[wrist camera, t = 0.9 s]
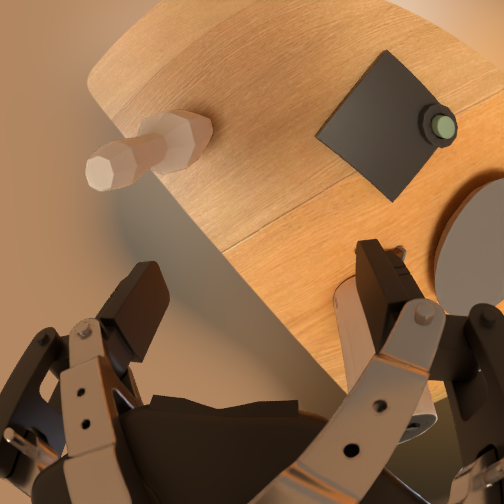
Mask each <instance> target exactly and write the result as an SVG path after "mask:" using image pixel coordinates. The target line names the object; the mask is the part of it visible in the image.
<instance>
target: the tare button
mask: <svg viewBox="0 0 504 504" xmlns="http://www.w3.org/2000/svg"><path fill="white" fill-rule="evenodd" d="M431 127H432V130H433V132H434V133H435V134H436V135H437V136H439V137H442V138H445V139H449V138H451V137H452V136H453V135H454V132H455V125H454V122H453V121H452V119H451V118H449V117H448V116H443V115H436V116H434V117H433V119H432V122H431Z"/></svg>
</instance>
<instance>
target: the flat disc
mask: <svg viewBox="0 0 504 504" xmlns="http://www.w3.org/2000/svg"><path fill="white" fill-rule="evenodd" d="M434 256H435V258H434V274H435V291H436V296H437V299H438V302H439V304H440V305H441V307H442V308H443V309H444V310H445V311H446V312H447V313H449V314H451V315H457V316H468V314H469V312H470V310H471V308H472V307H473V306H474V305H476V304H478V303H487V304H491V305H493V306H496V305H497V304H498V303H500V302H501V301H502V300H503V299H504V178H502V179H498V180H496V181H491V182H488V183H486V184H484V185H483V186H480V187H478V188H476V189H474V190H473V191H472V192H471V193H470V194H469V195H468V196H467V197H466V198H465V200H464V201H463V203H462V204H461V206H460V207H459V208H457V210H456V211H455V212H454V214H453V215H452V217H451V218H450V219H449V220H448V222H447V224H446V227H445V228H444V231H443V232H442V235H441V237H440V241H439V245H438V246H437V249H436V252H435V255H434Z"/></svg>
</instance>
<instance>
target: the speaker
mask: <svg viewBox="0 0 504 504" xmlns="http://www.w3.org/2000/svg"><path fill="white" fill-rule="evenodd" d="M334 308H335V313H336V319H337V325H338V330H339V336H340V342H341V347H342V353H343V360H344V366H345V373H346V380H347V387H348V394H349V392H350V391H351V389H352V388H353V386H354V385H355V383H356V382H357V380H358V379H359V377H360V376H361V374H362V372H363V371H364V369H365V368H366V366H367V364H368V363H369V361H370V360H371V358H372V357H373V355H374V354H375V353H376V352H375V349H374V345H373V341H372V338H371V334H370V331H369V328H368V324H367V321H366V317H365V314H364V311H363V308H362V305H361V302H360V298H359V295H358V292H357V288H356V279H355V276H353V277H351V278H349V279H348V280H346V281H345V282H343V283H342V284H341V285H340V286H339V287H338V288H337V290H336V292H335V294H334ZM436 420H437V415H436V411H435V408H434V404H433V401H432V397H431V394H430V390H429V387H428V384H426V386H425V389H424V391H423V393H422V396H421V398H420V400H419V403H418V405H417V407H416V409H415V411H414V413H413V416H412V418H411V420H410V422H409V424H408V426H407V428H406V430H405V432H404V433H403V435H402V437H401V439H400V441H399V443H402V442H405V441H407V440H410V439H412V438H414V437H416V436H418V435H420V434H422V433H423V432H425V431H426V430H428V429H429V428H430V427H431V426H432V425H433V424H434V423H435V422H436ZM399 443H398V444H399Z"/></svg>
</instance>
